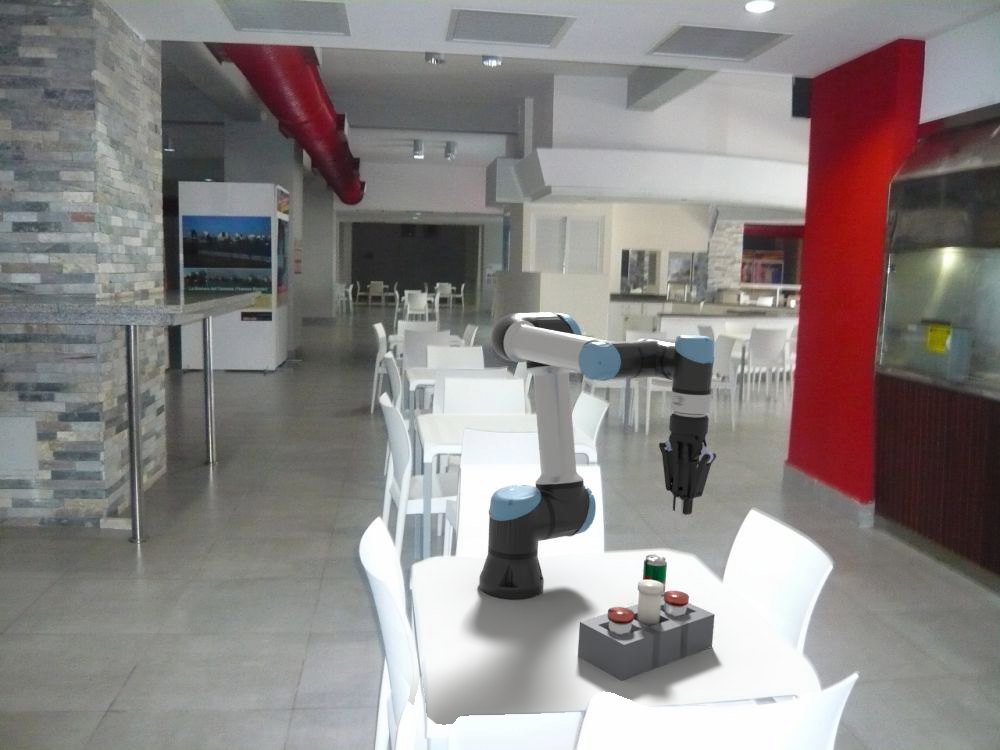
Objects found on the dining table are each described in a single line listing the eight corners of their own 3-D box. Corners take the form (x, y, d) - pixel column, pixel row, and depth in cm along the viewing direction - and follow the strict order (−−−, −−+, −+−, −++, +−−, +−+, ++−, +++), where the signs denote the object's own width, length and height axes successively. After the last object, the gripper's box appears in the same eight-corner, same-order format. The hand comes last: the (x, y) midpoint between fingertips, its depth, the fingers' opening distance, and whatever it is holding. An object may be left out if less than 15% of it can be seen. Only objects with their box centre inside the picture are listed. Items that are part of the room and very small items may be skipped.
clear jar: (655, 635, 180) (658, 593, 179) (672, 630, 183) (675, 588, 182) (674, 644, 176) (677, 602, 175) (690, 638, 179) (694, 596, 178)
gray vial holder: (621, 680, 162) (624, 644, 161) (577, 655, 172) (579, 621, 171) (711, 646, 178) (714, 614, 177) (667, 625, 188) (669, 594, 187)
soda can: (663, 615, 193) (667, 562, 192) (640, 612, 194) (643, 560, 193) (663, 606, 198) (667, 555, 197) (641, 603, 199) (644, 552, 198)
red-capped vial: (599, 654, 170) (602, 610, 169) (617, 648, 173) (620, 605, 172) (618, 664, 166) (621, 619, 165) (636, 658, 170) (639, 613, 168)
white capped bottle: (629, 625, 175) (632, 582, 173) (647, 620, 178) (650, 577, 177) (648, 635, 171) (651, 590, 170) (665, 629, 174) (668, 585, 173)
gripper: (652, 409, 176) (644, 522, 179) (703, 420, 166) (693, 540, 169) (677, 406, 181) (668, 517, 184) (728, 417, 171) (718, 534, 174)
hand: (680, 528), depth 177 cm, fingers closed
